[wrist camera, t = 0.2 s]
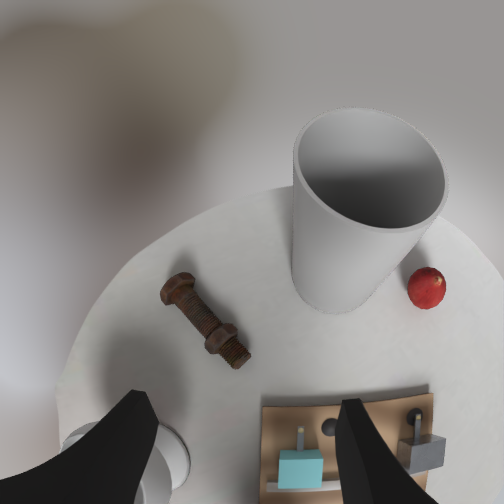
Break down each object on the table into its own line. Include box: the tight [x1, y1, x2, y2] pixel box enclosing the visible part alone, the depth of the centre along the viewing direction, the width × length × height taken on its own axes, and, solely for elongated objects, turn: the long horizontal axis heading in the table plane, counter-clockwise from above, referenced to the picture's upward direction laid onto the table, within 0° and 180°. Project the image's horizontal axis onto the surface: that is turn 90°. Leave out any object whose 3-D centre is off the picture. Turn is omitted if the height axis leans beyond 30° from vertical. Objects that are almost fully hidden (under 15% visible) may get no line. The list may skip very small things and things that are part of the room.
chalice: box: [59, 421, 190, 504], centre depth 28 cm, size 14×14×15 cm
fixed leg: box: [397, 414, 446, 475], centre depth 28 cm, size 8×5×5 cm, turn 178°
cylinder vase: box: [292, 107, 449, 314], centre depth 32 cm, size 12×12×25 cm
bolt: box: [160, 272, 251, 369], centre depth 40 cm, size 6×5×15 cm
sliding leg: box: [278, 426, 323, 489], centre depth 30 cm, size 8×5×5 cm, turn 179°
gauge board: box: [259, 393, 433, 504], centre depth 31 cm, size 16×24×3 cm, turn 88°
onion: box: [408, 267, 446, 309], centre depth 36 cm, size 6×6×8 cm
